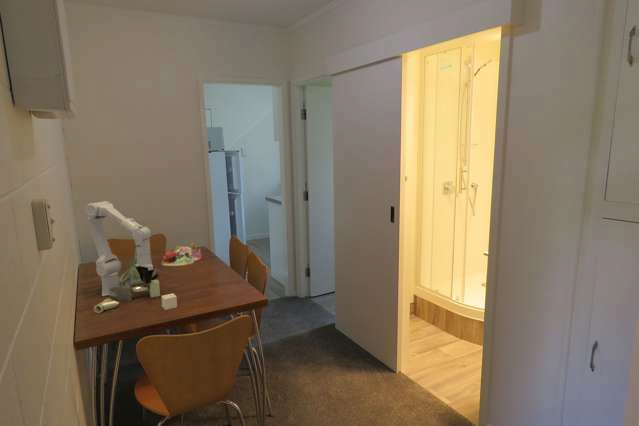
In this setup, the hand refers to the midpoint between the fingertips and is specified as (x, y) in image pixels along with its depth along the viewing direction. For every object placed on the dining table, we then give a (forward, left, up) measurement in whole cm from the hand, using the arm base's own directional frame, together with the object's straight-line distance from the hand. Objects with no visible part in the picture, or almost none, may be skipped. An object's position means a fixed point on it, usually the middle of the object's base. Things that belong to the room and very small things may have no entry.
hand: (146, 281), depth 182 cm
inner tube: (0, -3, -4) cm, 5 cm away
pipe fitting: (+8, -17, -7) cm, 20 cm away
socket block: (0, +3, -7) cm, 8 cm away
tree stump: (-29, -3, -7) cm, 30 cm away
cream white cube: (+19, +7, -7) cm, 22 cm away
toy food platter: (-56, +25, -8) cm, 62 cm away
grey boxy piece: (0, -11, -7) cm, 13 cm away
